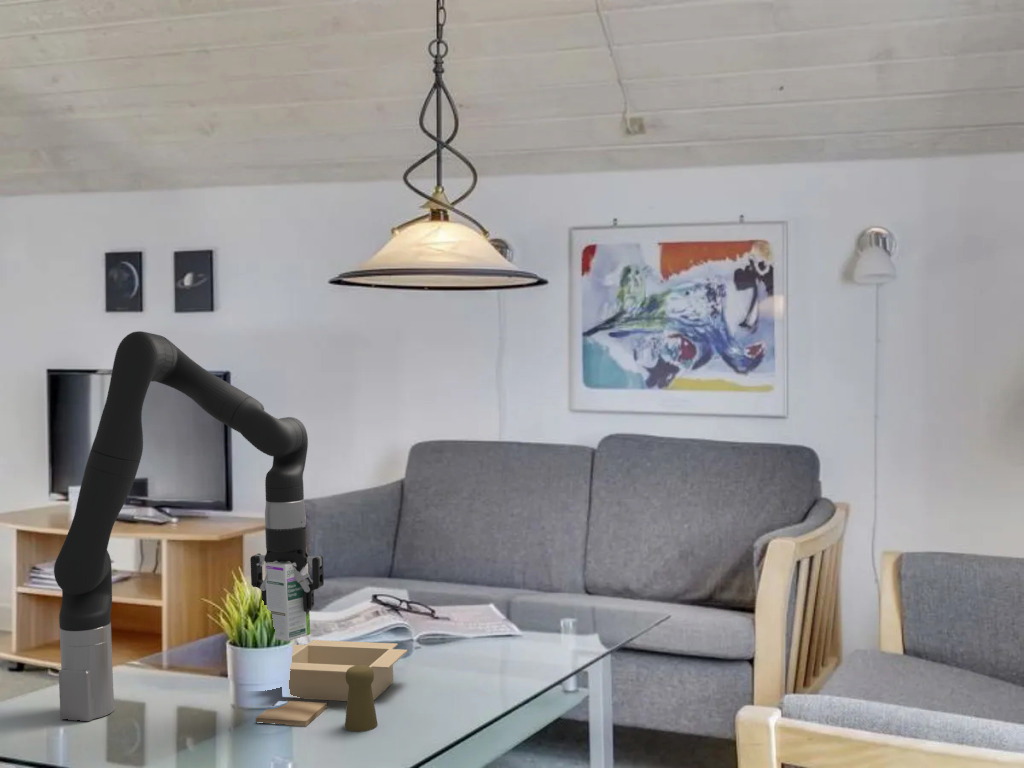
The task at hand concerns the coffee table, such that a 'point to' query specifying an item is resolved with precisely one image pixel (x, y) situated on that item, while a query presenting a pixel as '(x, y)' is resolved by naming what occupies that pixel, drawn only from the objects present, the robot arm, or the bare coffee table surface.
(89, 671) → the robot arm
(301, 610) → the syrup box
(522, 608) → the coffee table surface
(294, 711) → the coaster
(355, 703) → the pepper shaker
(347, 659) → the carton
